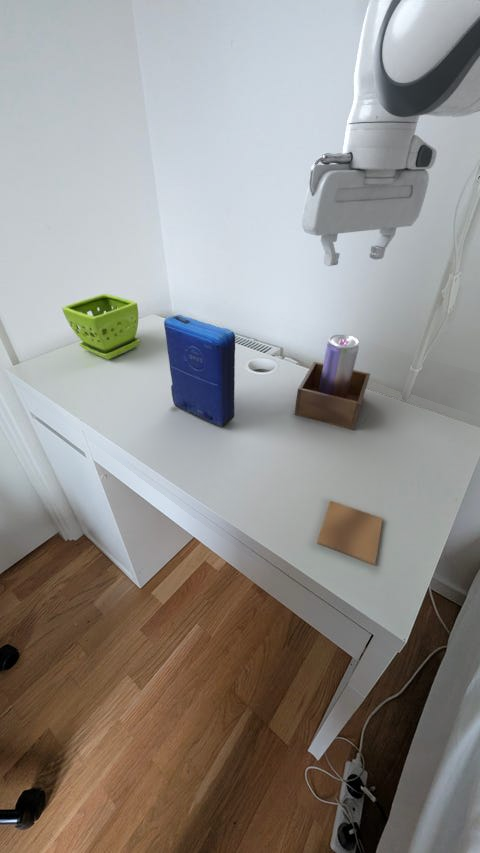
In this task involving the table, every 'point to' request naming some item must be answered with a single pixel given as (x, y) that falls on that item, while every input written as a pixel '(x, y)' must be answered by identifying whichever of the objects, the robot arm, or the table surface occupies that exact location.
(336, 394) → the beverage can
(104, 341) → the flower pot
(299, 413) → the wooden box
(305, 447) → the table surface
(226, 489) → the table surface
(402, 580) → the table surface
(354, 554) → the cork mat
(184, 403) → the blue plastic case
